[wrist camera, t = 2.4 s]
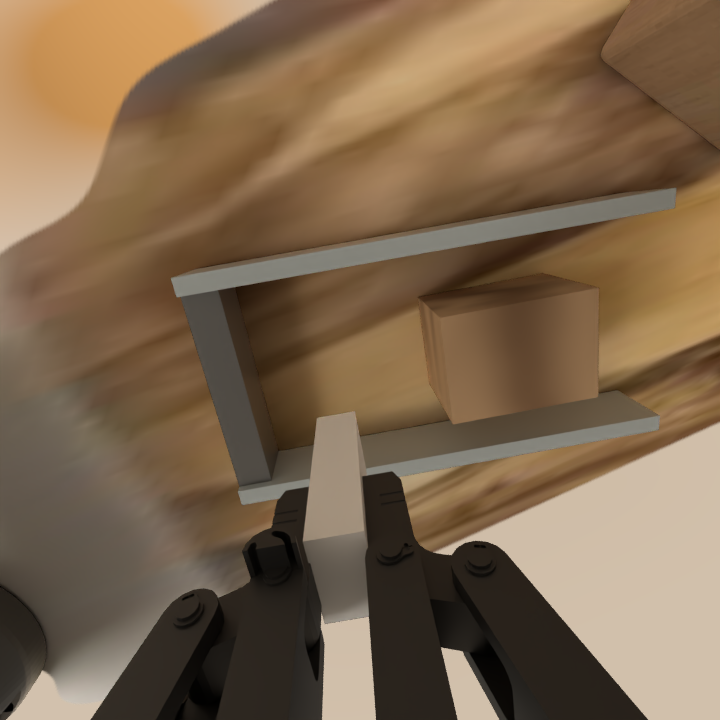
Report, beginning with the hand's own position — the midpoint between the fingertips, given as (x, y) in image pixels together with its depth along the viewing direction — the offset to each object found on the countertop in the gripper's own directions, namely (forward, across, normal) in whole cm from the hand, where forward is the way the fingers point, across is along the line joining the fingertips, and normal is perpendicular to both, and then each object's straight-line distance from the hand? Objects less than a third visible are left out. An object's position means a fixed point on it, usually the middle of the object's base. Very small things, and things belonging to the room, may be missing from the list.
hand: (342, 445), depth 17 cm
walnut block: (+12, +9, 0) cm, 15 cm away
